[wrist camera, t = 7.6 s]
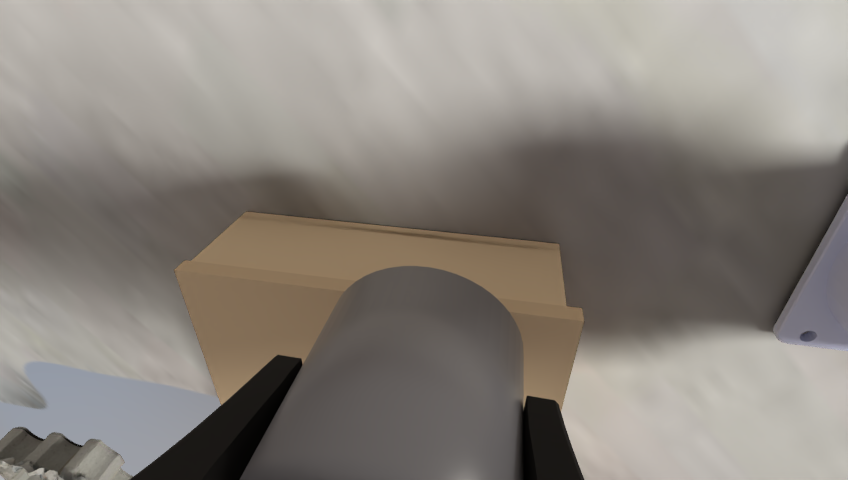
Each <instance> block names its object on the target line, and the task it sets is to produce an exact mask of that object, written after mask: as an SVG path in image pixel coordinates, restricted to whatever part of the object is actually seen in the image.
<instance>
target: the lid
mask: <svg viewBox="0 0 848 480" xmlns="http://www.w3.org/2000/svg"><path fill="white" fill-rule="evenodd" d="M174 272H175V275H176V278H177V280H178V283H179V286H180V289H181V292H182V295H183V298H184V300H185V303H186V306H187V309H188V312H189V315H190V318H191V320H192V323H193V326H194V329H195V332H196V335H197V338H198V340H199V343H200V346H201V349H202V352H203V355H204V358H205V360H206V363H207V366H208V369H209V372H210V375H211V378H212V380H213V383H214V386H215V389H216V392H217V395H218V398H219V400H220V403H221V405H222V404H223V403H225V402H226V401H227V400H228V399H229V398H230V397H231V396H232V395H233V394H235V393H236V392H237V391H238V390H239V389H240V388H241V387H242V386H243V385H244V384H246V383H247V382H248V381H249V380H250V379H251V378H252V377H253V376H254V375H255V374H256V373H258V372H259V371H260V370H261V369H262V368H263V367H264V366H265V365H266V364H267V363H268V362H270V361H271V360H272V359H273V358H274V357H275V356H277V355H283V356H289V357H295V358H301V359H302V364H303V363H304V362H305V360H306V358H307V356H308V354H309V353H310V351H311V349H312V347H313V345H314V343H315V342H316V340H317V338H318V336H319V334H320V333H321V331H322V329H323V327H324V325H325V324H326V322H327V320H328V318H329V316H330V314H331V313H332V311H333V309H334V307H335V305H336V304H337V302H338V300H339V298H340V297H341V295H342V294H343V293H344V292H345V291H346V289H347V288H348V287H350V286H351V285H352V284H353V283H354V282H356V281H353V280H345V279H337V278H328V277H320V276H312V275H303V274H295V273H287V272H279V271H270V270H262V269H254V268H245V267H237V266H229V265H221V264H212V263H204V262H196V261H187V260H185V261H183V262H182V263H181V264H180V265H179V266H178V267H177V268H176V269H174ZM497 299H498V300H499V301H500V302H501V303H502V304H503V305H504V306H505V308H506V309H507V310H508V311H509V312H510V314H511V315H512V317H513V319H514V320H515V322H516V324H517V326H518V328H519V331H520V333H521V337H522V341H523V353H524V406H525V402H526V397H527V396H533V397H539V398H545V399H551V400H555V401H556V402H557V403H558V404H559V407H560V411H561V409H562V405H563V402H564V398H565V394H566V390H567V386H568V382H569V378H570V374H571V371H572V367H573V363H574V359H575V355H576V351H577V347H578V344H579V340H580V336H581V332H582V328H583V324H584V317H583V311H582V308H577V307H569V306H560V305H552V304H544V303H535V302H527V301H519V300H511V299H502V298H497Z"/></svg>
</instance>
